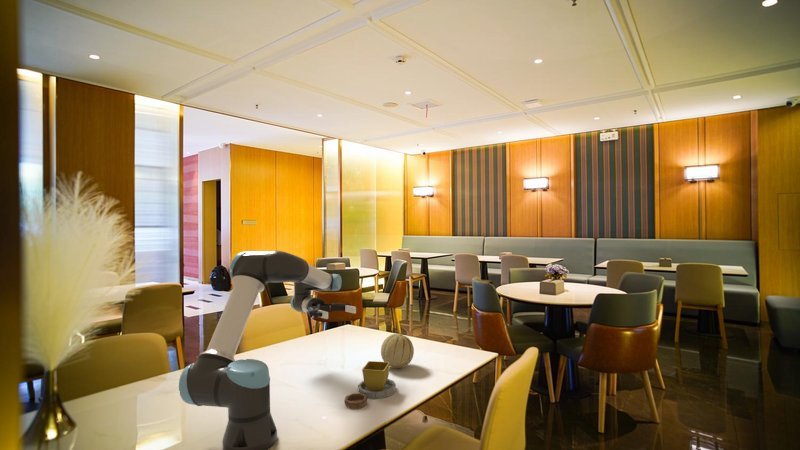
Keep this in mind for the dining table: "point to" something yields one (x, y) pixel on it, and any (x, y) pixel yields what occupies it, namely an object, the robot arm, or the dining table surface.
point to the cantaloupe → (397, 350)
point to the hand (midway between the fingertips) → (341, 312)
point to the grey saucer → (386, 391)
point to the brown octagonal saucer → (355, 400)
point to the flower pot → (376, 375)
